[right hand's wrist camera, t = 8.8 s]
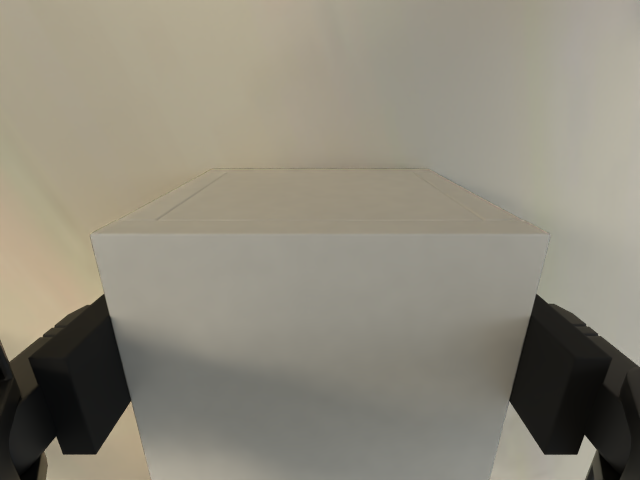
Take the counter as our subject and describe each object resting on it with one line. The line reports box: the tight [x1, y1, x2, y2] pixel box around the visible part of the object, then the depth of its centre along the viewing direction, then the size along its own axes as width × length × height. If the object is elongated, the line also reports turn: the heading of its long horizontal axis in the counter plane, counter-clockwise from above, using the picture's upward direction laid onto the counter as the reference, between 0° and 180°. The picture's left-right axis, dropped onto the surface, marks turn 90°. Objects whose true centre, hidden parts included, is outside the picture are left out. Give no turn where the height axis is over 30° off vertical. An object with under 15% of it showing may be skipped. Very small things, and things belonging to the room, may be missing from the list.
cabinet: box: [90, 169, 551, 480], centre depth 16 cm, size 22×10×9 cm, turn 0°
